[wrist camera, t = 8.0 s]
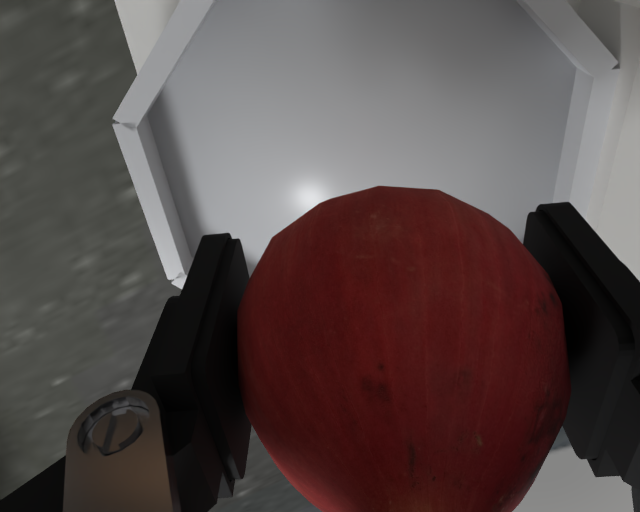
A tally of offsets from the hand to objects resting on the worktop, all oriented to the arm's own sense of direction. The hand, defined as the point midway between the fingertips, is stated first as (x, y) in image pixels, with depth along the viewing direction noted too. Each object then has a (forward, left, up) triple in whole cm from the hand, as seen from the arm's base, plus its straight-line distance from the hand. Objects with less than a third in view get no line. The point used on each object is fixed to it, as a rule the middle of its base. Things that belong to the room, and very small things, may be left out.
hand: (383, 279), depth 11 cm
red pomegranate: (0, 0, -2) cm, 2 cm away
